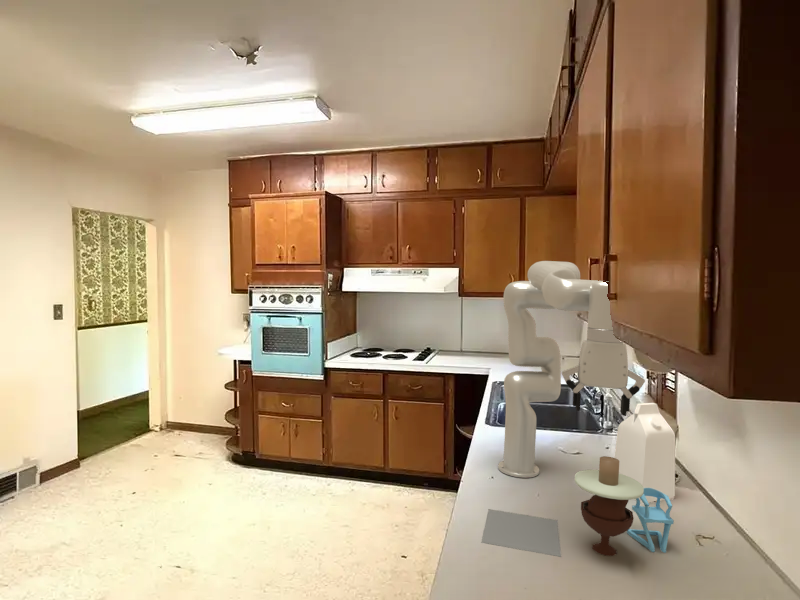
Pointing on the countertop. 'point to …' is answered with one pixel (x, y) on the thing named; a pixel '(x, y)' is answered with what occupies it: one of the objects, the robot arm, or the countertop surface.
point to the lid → (609, 481)
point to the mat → (522, 532)
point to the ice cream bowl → (606, 520)
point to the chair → (652, 519)
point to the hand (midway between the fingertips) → (600, 411)
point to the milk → (647, 450)
